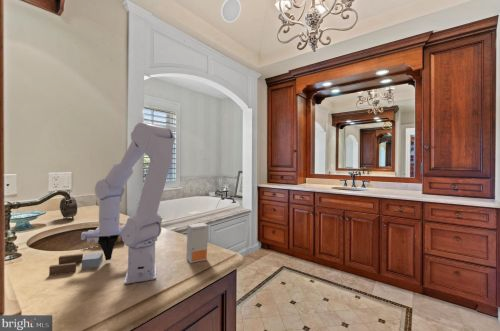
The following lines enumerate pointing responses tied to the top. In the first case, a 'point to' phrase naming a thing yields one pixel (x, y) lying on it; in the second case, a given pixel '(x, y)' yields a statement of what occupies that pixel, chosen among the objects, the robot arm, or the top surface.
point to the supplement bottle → (98, 238)
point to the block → (92, 260)
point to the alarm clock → (68, 208)
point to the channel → (66, 264)
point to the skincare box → (197, 242)
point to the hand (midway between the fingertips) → (108, 258)
